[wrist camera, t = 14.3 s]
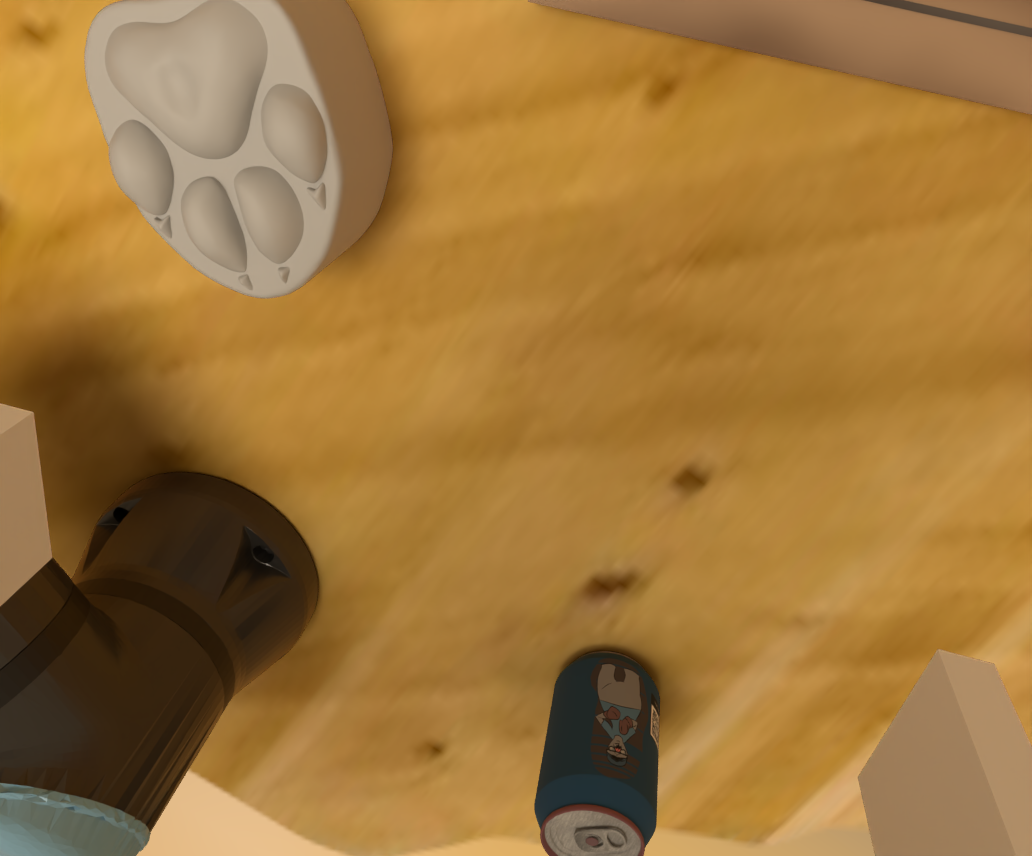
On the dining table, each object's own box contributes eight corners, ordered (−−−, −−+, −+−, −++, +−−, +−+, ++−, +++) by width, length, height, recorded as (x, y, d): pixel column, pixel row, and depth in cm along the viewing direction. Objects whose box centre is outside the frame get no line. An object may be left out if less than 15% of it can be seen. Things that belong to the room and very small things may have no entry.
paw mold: (345, -44, 37) (261, -47, 30) (422, 237, 43) (368, 294, 35) (149, 11, 40) (27, 20, 32) (246, 269, 46) (161, 327, 38)
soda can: (572, 722, 58) (549, 886, 48) (544, 649, 55) (513, 805, 45) (670, 714, 56) (668, 882, 46) (646, 637, 53) (638, 798, 43)
